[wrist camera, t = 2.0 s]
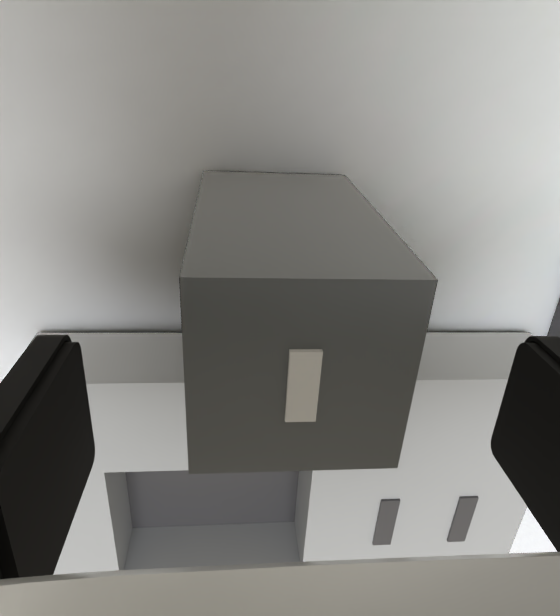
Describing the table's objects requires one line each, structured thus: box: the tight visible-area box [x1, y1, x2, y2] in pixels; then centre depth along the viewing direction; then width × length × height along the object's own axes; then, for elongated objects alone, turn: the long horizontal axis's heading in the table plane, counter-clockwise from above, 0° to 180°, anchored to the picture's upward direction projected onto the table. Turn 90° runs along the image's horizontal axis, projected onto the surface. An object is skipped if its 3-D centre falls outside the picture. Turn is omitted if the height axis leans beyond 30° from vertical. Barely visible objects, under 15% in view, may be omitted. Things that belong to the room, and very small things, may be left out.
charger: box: [179, 171, 438, 474], centre depth 13 cm, size 4×4×8 cm
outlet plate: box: [29, 332, 533, 575], centre depth 20 cm, size 13×18×3 cm
